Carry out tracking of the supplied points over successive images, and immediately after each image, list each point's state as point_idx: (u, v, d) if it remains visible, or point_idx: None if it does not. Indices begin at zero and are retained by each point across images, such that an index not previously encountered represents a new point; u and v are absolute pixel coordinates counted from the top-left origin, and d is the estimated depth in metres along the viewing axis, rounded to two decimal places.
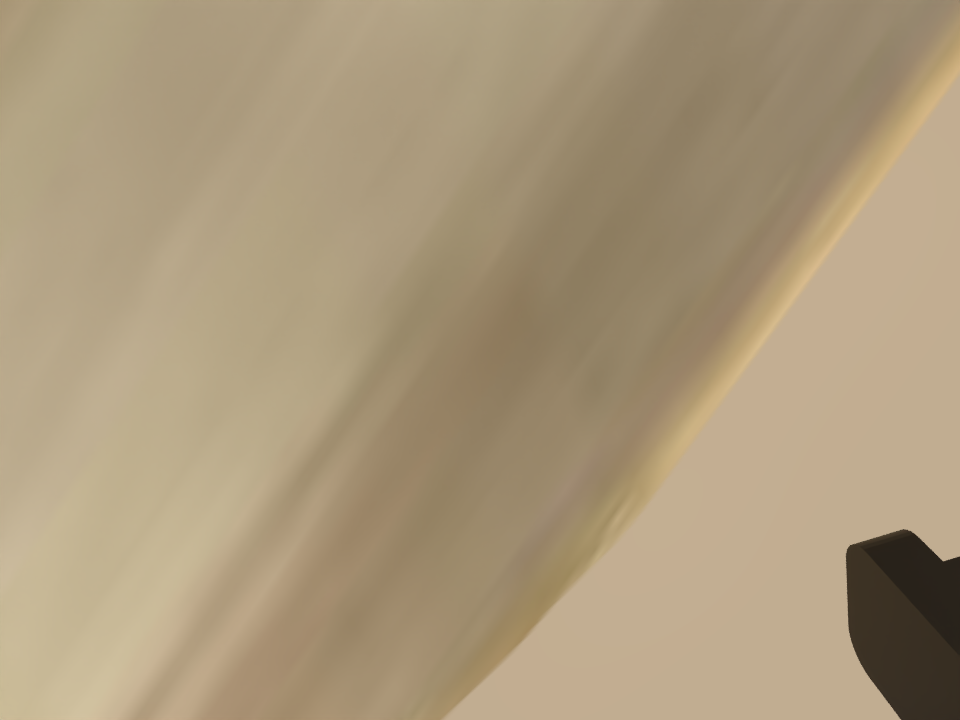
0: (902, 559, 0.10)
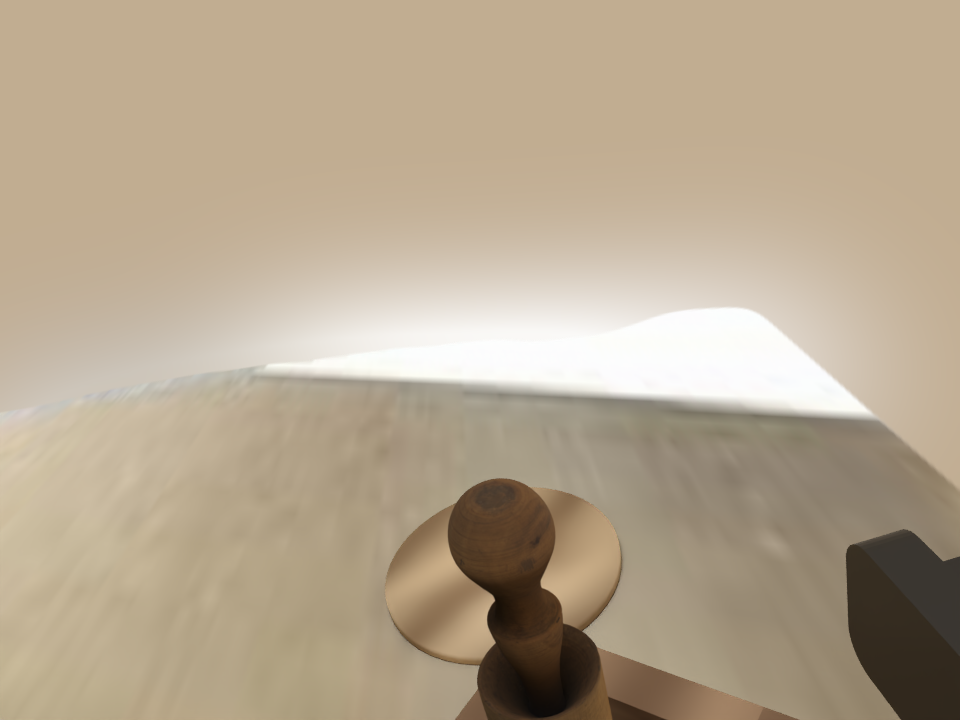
0: (902, 559, 0.10)
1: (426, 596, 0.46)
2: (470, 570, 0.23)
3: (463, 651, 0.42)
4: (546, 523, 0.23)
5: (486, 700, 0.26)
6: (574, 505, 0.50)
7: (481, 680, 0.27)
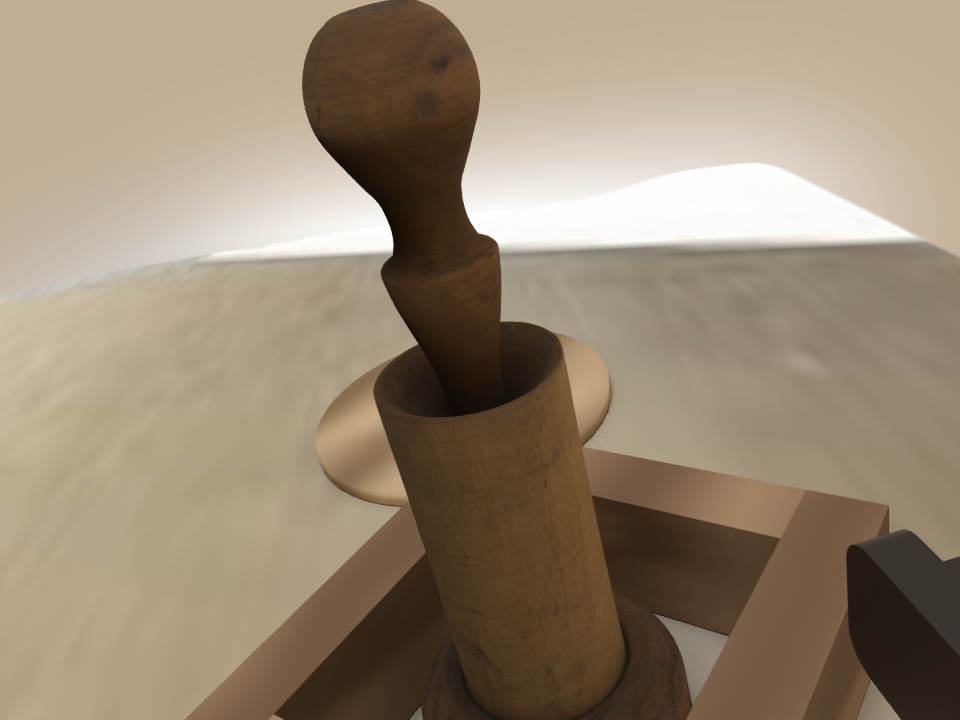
0: (902, 559, 0.10)
1: (365, 439, 0.37)
2: (332, 122, 0.14)
3: None
4: (460, 48, 0.14)
5: (383, 404, 0.17)
6: None
7: (379, 386, 0.17)
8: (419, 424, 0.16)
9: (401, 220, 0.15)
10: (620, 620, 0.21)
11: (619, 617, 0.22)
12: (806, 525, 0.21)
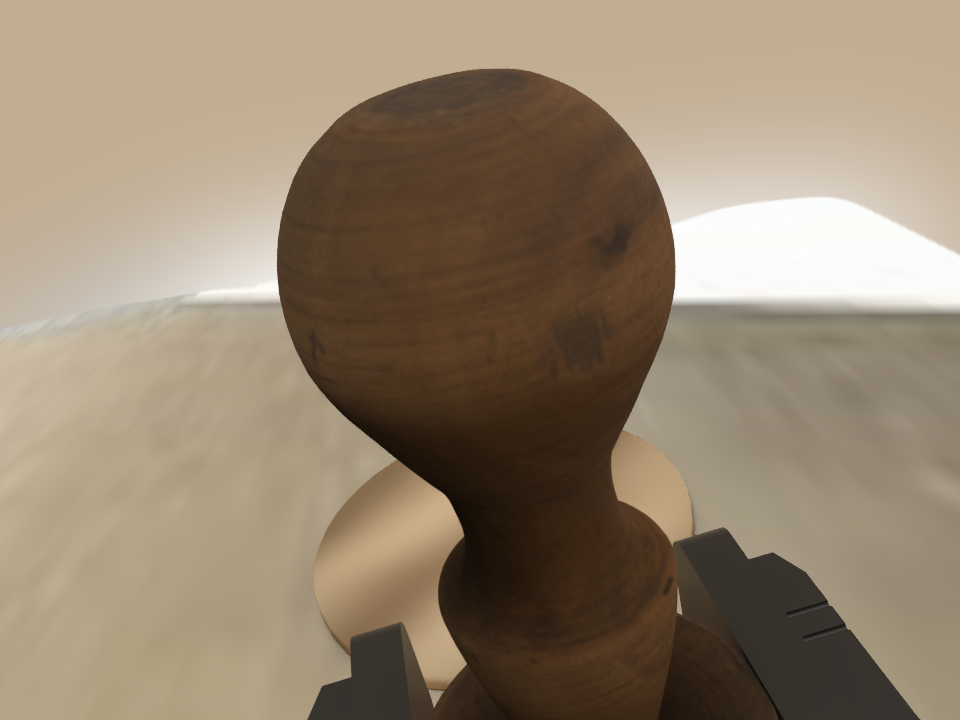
0: (711, 555, 0.11)
1: (377, 578, 0.28)
2: (346, 374, 0.06)
3: (433, 667, 0.25)
4: (650, 192, 0.06)
5: None
6: None
7: None
8: None
9: (490, 531, 0.07)
10: None
11: None
12: None
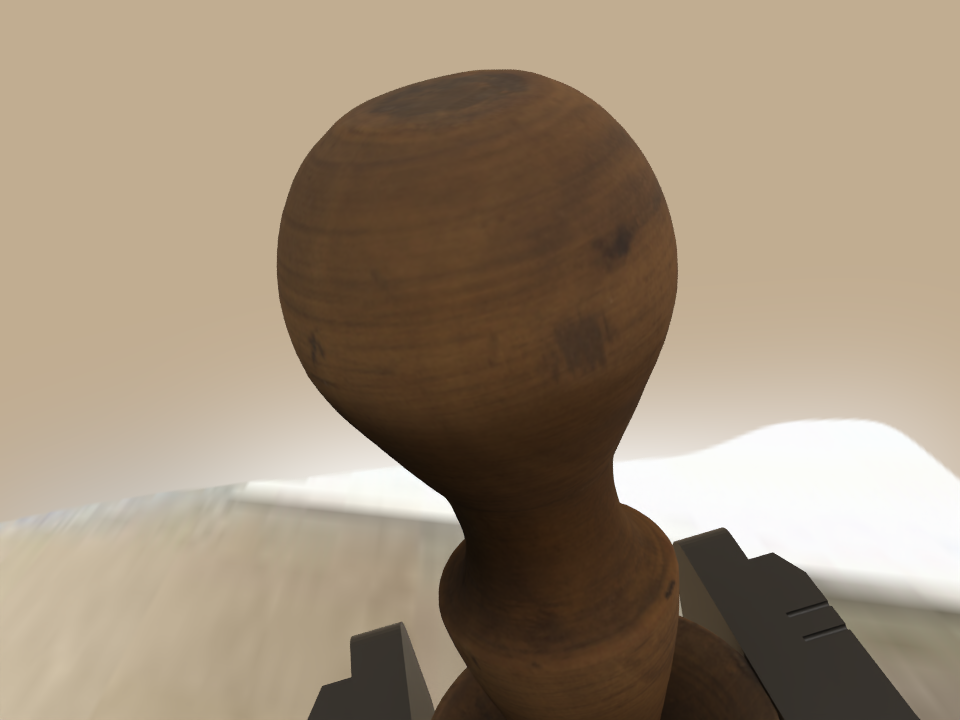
0: (711, 555, 0.11)
1: None
2: (347, 377, 0.06)
3: None
4: (652, 194, 0.06)
5: None
6: None
7: None
8: None
9: (491, 535, 0.07)
10: None
11: None
12: None
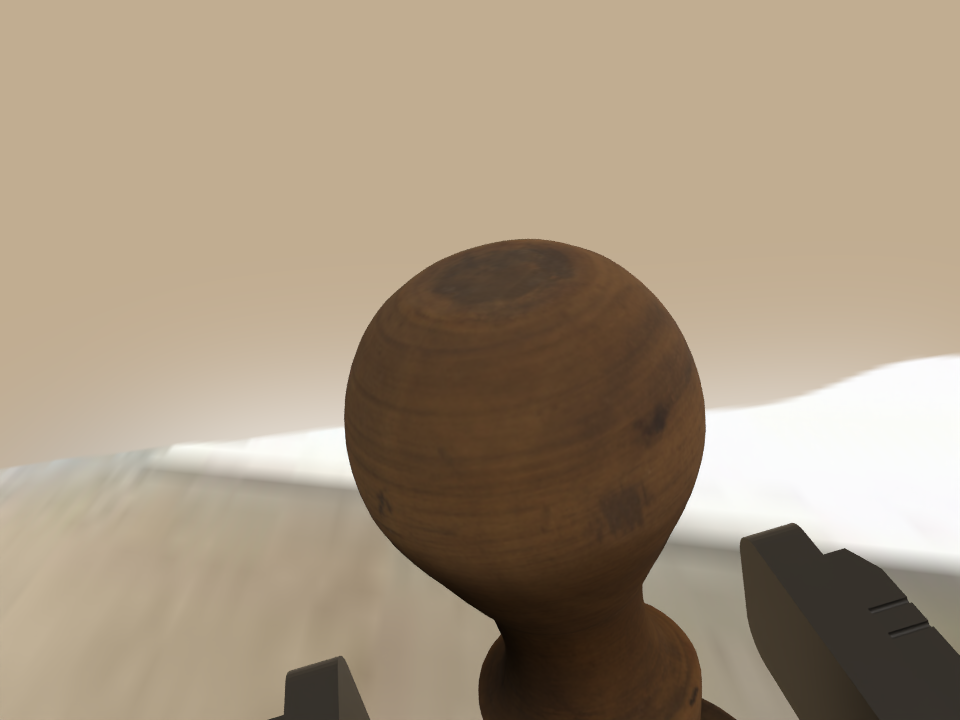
0: (784, 551, 0.11)
1: None
2: (412, 532, 0.06)
3: None
4: (684, 367, 0.07)
5: None
6: None
7: None
8: None
9: (531, 650, 0.08)
10: None
11: None
12: None
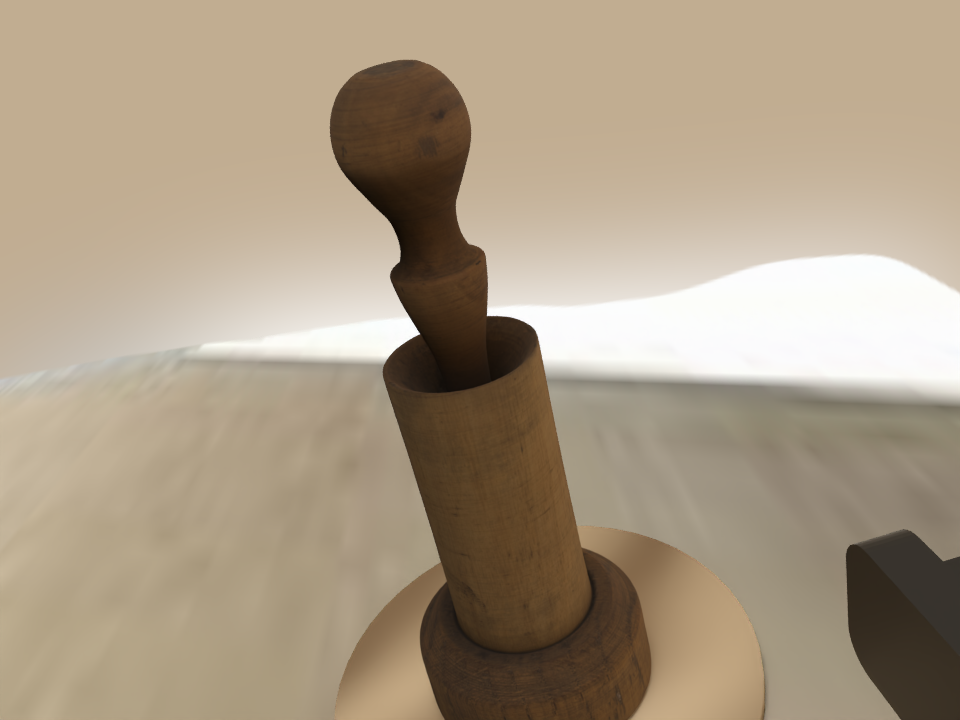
0: (902, 559, 0.10)
1: None
2: (354, 159, 0.18)
3: None
4: (455, 101, 0.18)
5: (390, 382, 0.21)
6: (662, 559, 0.29)
7: (388, 367, 0.21)
8: (420, 398, 0.20)
9: (407, 234, 0.19)
10: (588, 570, 0.25)
11: (588, 567, 0.25)
12: None
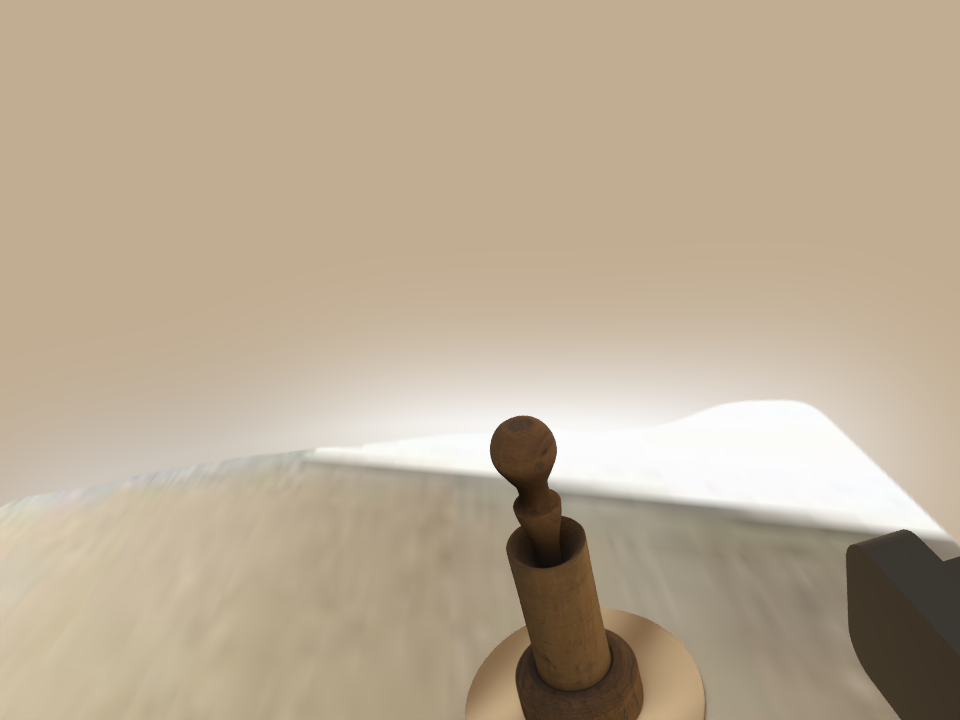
0: (902, 559, 0.10)
1: None
2: (504, 469, 0.38)
3: None
4: (551, 441, 0.38)
5: (512, 559, 0.41)
6: (650, 632, 0.50)
7: (509, 548, 0.42)
8: (528, 570, 0.40)
9: (524, 494, 0.40)
10: (609, 644, 0.46)
11: (608, 642, 0.46)
12: None
